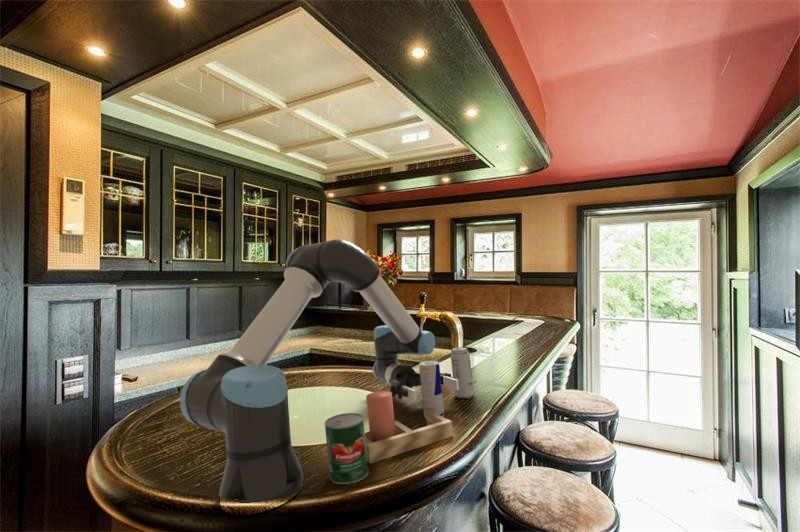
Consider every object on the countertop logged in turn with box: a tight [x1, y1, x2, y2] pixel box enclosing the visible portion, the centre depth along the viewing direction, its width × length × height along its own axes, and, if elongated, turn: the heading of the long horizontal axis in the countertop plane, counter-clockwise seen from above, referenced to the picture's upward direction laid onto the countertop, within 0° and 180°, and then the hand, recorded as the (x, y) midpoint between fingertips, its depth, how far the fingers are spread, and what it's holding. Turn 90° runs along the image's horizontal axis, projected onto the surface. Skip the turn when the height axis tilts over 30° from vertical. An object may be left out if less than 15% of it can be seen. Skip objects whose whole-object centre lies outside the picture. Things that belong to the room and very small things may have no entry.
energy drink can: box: [450, 346, 475, 399], centre depth 119 cm, size 6×6×15 cm
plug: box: [365, 390, 396, 443], centre depth 87 cm, size 6×6×12 cm
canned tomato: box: [324, 412, 369, 485], centre depth 76 cm, size 8×8×11 cm
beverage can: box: [418, 360, 445, 420], centre depth 103 cm, size 6×6×15 cm
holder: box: [365, 411, 454, 464], centre depth 89 cm, size 22×10×4 cm, turn 117°
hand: (437, 390), depth 101 cm, fingers open, 13 cm apart
